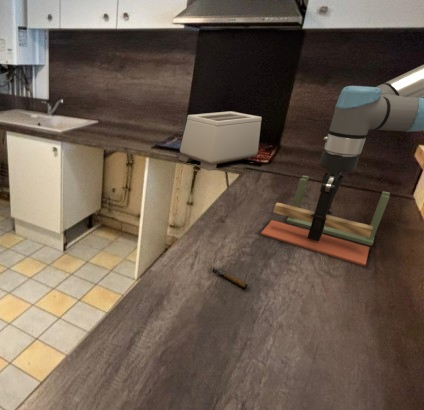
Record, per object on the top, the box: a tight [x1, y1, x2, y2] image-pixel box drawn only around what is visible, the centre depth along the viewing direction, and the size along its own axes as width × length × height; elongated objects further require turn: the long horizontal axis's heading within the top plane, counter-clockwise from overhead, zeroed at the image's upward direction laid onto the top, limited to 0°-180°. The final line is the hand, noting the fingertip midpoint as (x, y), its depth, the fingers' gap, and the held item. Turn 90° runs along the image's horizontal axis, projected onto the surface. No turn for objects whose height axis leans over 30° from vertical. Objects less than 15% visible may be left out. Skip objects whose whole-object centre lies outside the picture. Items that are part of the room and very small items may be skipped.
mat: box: [260, 219, 370, 267], centre depth 97 cm, size 24×11×1 cm, turn 50°
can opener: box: [212, 266, 249, 289], centre depth 80 cm, size 9×2×1 cm, turn 29°
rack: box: [285, 175, 391, 247], centre depth 102 cm, size 21×8×14 cm, turn 50°
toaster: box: [177, 111, 263, 172], centre depth 164 cm, size 19×34×21 cm, turn 119°
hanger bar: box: [272, 202, 373, 238], centre depth 95 cm, size 22×2×2 cm, turn 50°
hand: (314, 237), depth 97 cm, fingers closed on hanger bar, 2 cm apart
